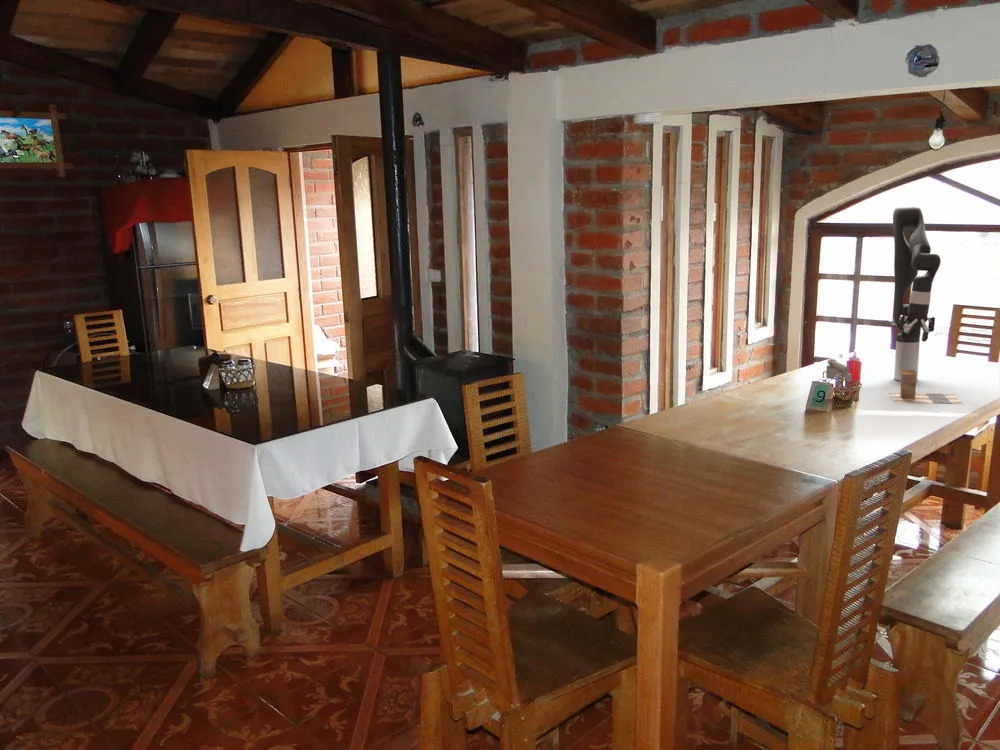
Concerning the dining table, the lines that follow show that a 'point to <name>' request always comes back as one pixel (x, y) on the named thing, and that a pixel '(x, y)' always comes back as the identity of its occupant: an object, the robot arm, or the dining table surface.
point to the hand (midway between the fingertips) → (913, 340)
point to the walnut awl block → (908, 384)
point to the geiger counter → (837, 370)
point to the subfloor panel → (927, 398)
